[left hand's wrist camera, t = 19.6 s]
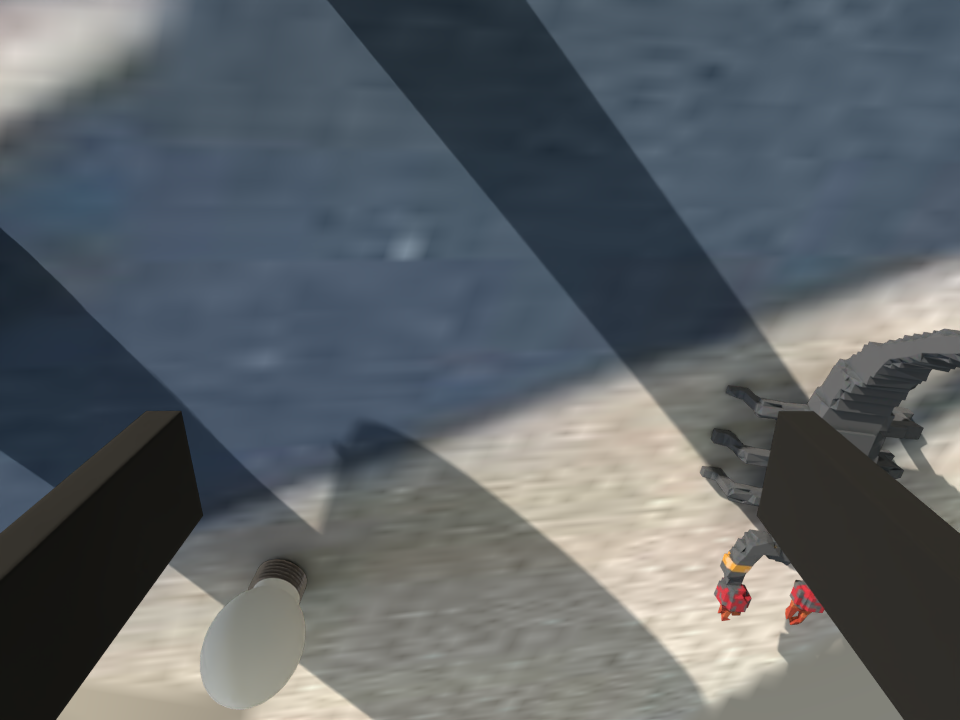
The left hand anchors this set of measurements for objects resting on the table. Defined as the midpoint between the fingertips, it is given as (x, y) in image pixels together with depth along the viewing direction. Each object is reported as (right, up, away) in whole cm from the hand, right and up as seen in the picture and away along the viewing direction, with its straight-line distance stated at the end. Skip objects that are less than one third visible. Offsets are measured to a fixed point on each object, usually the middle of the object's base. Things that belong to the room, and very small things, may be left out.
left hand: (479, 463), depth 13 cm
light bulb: (-16, -15, +35) cm, 41 cm away
